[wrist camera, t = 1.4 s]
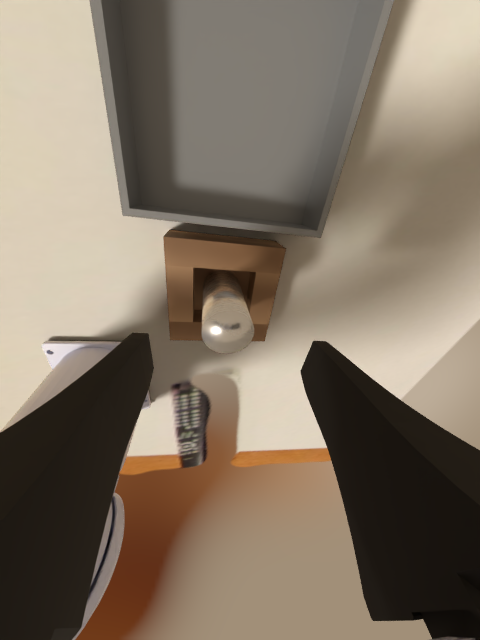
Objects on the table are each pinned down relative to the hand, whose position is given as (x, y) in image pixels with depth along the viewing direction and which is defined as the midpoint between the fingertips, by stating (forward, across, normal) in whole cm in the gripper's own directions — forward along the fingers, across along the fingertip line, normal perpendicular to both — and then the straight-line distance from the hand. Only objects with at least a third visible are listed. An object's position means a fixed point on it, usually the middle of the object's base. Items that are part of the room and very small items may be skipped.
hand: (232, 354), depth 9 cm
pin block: (+10, 0, +1) cm, 10 cm away
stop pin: (+9, 0, +1) cm, 9 cm away
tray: (+10, 0, -10) cm, 14 cm away
